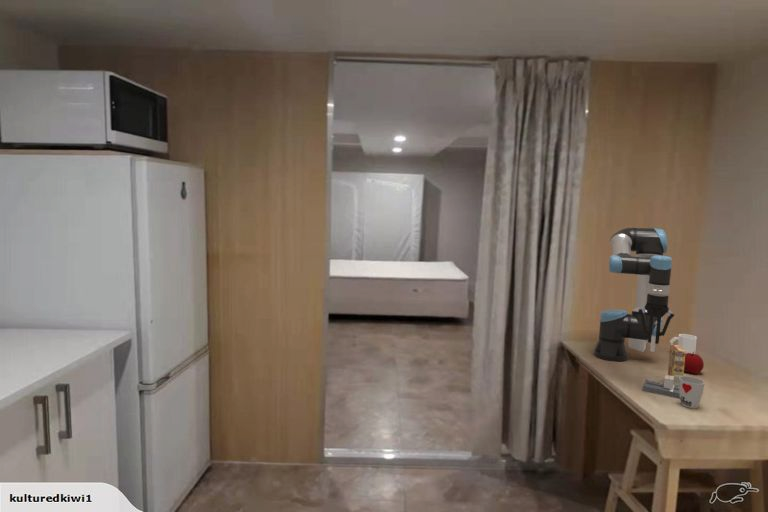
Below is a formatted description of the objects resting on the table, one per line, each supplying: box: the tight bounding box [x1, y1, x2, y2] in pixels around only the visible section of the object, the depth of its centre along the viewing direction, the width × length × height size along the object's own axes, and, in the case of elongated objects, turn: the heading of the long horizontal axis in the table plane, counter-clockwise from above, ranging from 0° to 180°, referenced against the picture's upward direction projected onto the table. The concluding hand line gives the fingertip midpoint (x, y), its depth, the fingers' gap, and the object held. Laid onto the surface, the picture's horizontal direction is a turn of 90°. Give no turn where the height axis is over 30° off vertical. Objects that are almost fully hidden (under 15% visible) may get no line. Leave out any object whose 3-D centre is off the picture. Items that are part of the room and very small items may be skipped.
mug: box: [669, 333, 698, 354], centre depth 249 cm, size 12×9×10 cm
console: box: [641, 379, 680, 399], centre depth 197 cm, size 18×9×4 cm, turn 56°
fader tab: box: [663, 374, 674, 389], centre depth 197 cm, size 3×5×4 cm, turn 146°
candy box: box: [667, 344, 686, 386], centre depth 208 cm, size 9×4×15 cm, turn 162°
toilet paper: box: [627, 338, 648, 353], centre depth 258 cm, size 8×11×7 cm
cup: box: [679, 375, 705, 409], centre depth 184 cm, size 8×8×10 cm
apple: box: [684, 352, 704, 375], centre depth 222 cm, size 9×9×10 cm
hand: (652, 350), depth 200 cm, fingers closed
